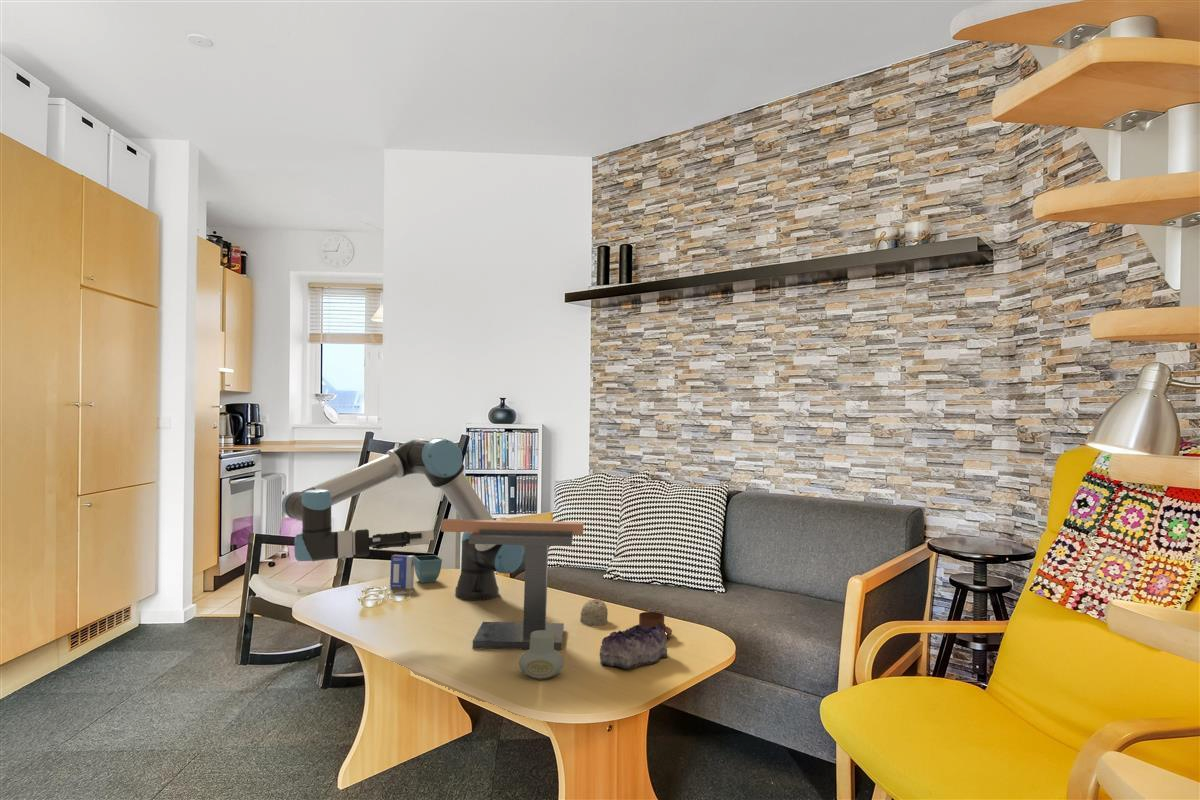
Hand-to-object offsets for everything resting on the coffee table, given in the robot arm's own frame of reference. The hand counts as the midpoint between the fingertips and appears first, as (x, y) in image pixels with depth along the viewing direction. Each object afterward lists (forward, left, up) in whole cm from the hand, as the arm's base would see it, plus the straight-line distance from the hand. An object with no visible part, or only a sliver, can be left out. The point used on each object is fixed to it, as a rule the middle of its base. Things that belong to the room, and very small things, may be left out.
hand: (431, 537), depth 199 cm
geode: (-16, +61, -27) cm, 69 cm away
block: (-9, +24, +3) cm, 25 cm away
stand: (-11, +26, -27) cm, 39 cm away
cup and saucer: (-37, +54, -27) cm, 71 cm away
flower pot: (-42, -47, -27) cm, 68 cm away
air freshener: (+7, +48, -27) cm, 56 cm away
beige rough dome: (-38, +33, -27) cm, 57 cm away
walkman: (-29, -46, -27) cm, 61 cm away
